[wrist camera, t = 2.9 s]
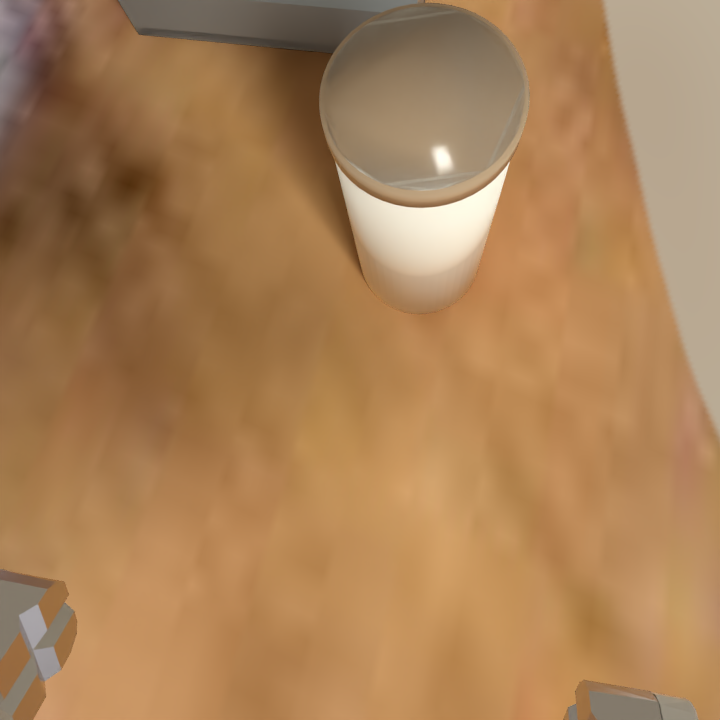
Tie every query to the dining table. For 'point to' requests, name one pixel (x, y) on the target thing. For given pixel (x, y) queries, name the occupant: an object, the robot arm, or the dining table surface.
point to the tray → (257, 20)
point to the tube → (423, 145)
